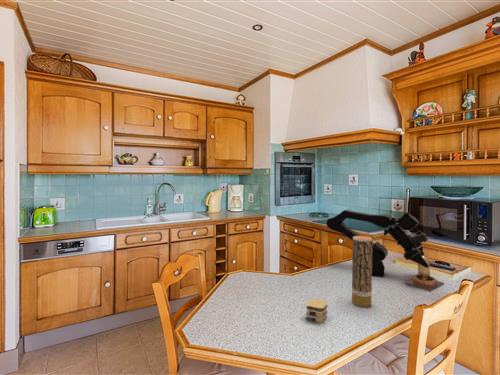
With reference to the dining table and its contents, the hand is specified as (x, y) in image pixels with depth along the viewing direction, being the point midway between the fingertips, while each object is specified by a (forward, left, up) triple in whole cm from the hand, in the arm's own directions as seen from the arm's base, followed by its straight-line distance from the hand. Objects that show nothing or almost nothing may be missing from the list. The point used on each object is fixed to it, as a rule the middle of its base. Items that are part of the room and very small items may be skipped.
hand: (428, 265), depth 119 cm
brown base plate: (-1, 0, -9) cm, 9 cm away
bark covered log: (-30, -28, -9) cm, 42 cm away
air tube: (-1, 0, -8) cm, 8 cm away
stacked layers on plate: (-46, -43, -9) cm, 64 cm away
